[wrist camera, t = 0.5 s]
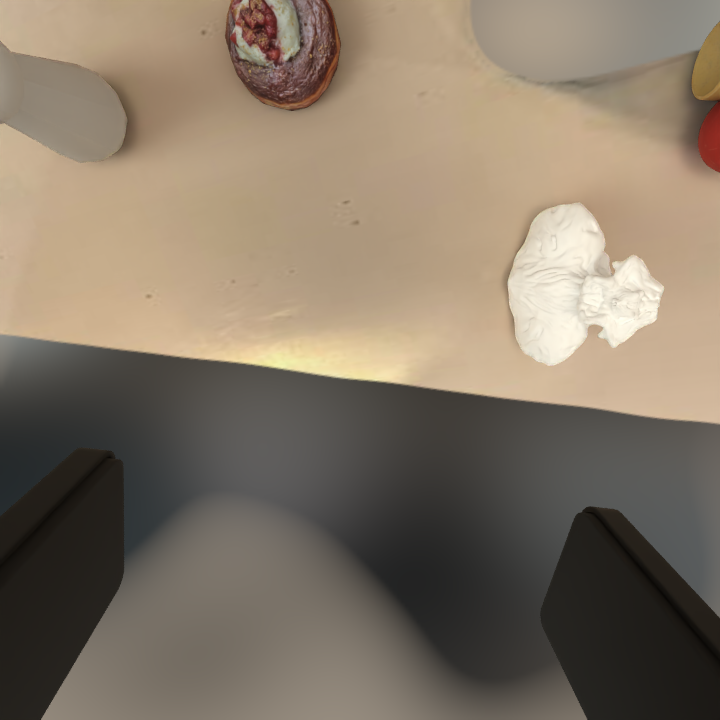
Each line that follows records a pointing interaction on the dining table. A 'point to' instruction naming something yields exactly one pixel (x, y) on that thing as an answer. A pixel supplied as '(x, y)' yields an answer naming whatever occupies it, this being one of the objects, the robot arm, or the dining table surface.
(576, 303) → the bust
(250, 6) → the pastry
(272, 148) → the dining table surface
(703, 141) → the kendama
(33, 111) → the salt shaker
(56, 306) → the dining table surface
